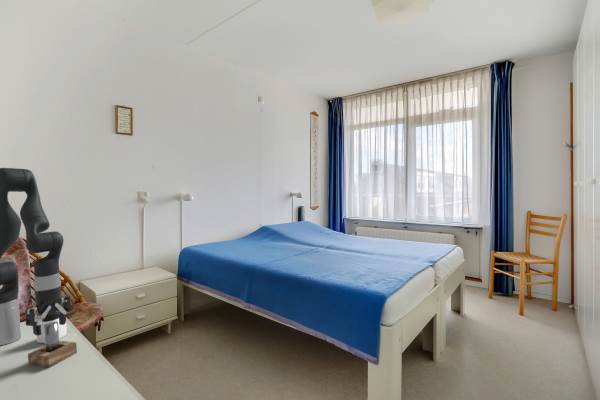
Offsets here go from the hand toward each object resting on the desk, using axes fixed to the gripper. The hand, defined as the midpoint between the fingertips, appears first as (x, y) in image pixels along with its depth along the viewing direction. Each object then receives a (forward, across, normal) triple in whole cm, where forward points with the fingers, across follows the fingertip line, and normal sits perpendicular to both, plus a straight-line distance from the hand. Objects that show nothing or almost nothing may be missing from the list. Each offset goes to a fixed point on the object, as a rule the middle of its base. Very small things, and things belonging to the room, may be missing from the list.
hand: (50, 329), depth 113 cm
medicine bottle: (+12, -12, -17) cm, 24 cm away
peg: (+10, 0, 0) cm, 10 cm away
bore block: (+11, 0, 0) cm, 11 cm away
